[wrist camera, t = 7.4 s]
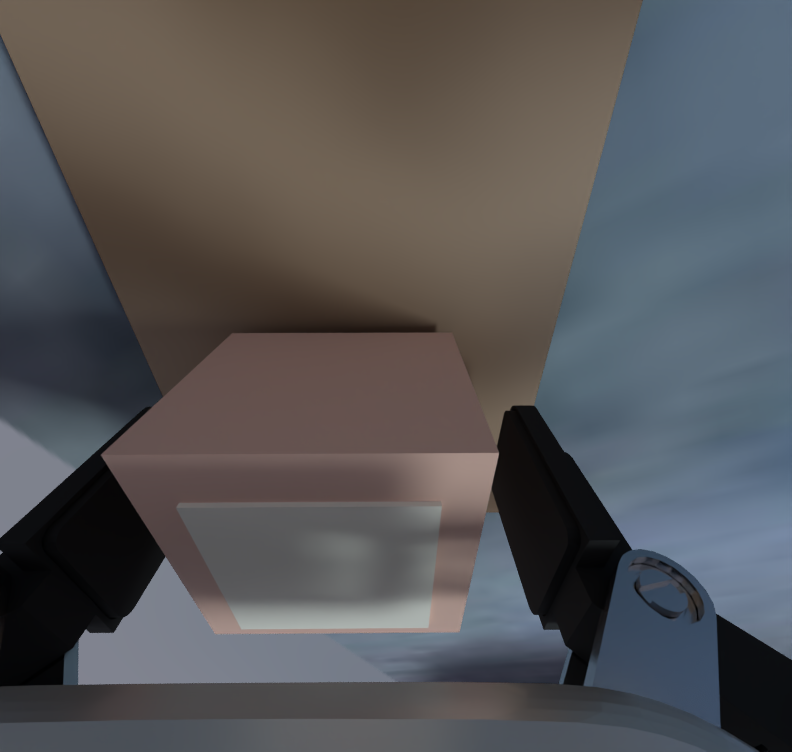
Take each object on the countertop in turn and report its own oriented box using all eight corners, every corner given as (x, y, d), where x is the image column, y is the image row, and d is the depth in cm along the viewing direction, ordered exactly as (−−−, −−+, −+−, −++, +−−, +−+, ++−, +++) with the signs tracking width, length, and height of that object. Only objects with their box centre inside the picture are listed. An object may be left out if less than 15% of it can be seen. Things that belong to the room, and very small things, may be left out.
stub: (232, 333, 9) (95, 459, 5) (451, 332, 9) (500, 457, 5) (274, 484, 12) (213, 639, 8) (437, 483, 12) (460, 637, 8)
